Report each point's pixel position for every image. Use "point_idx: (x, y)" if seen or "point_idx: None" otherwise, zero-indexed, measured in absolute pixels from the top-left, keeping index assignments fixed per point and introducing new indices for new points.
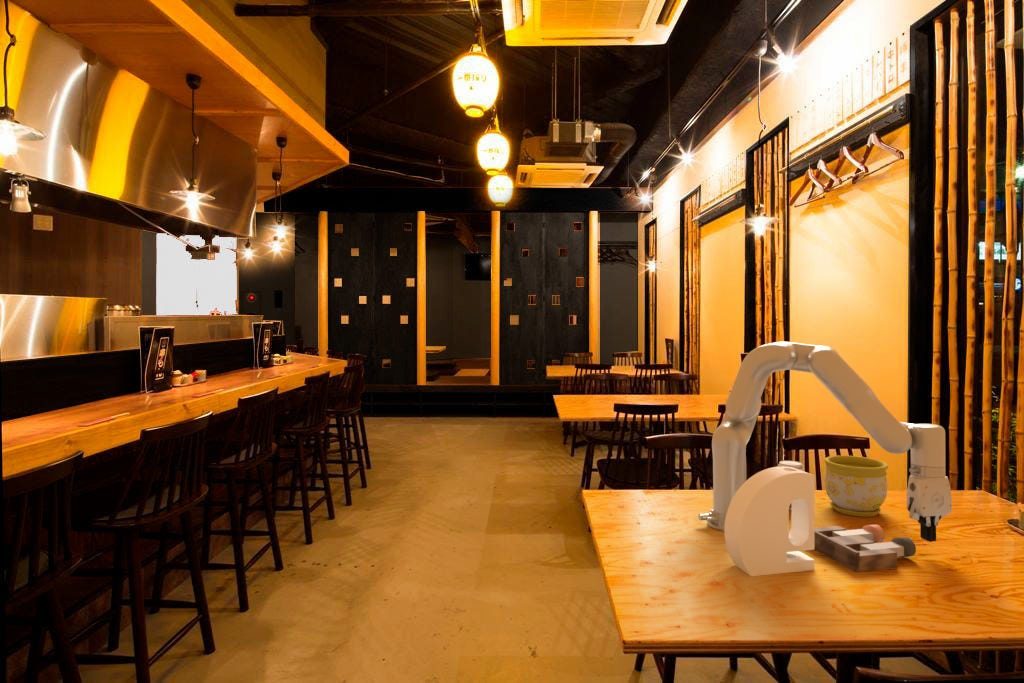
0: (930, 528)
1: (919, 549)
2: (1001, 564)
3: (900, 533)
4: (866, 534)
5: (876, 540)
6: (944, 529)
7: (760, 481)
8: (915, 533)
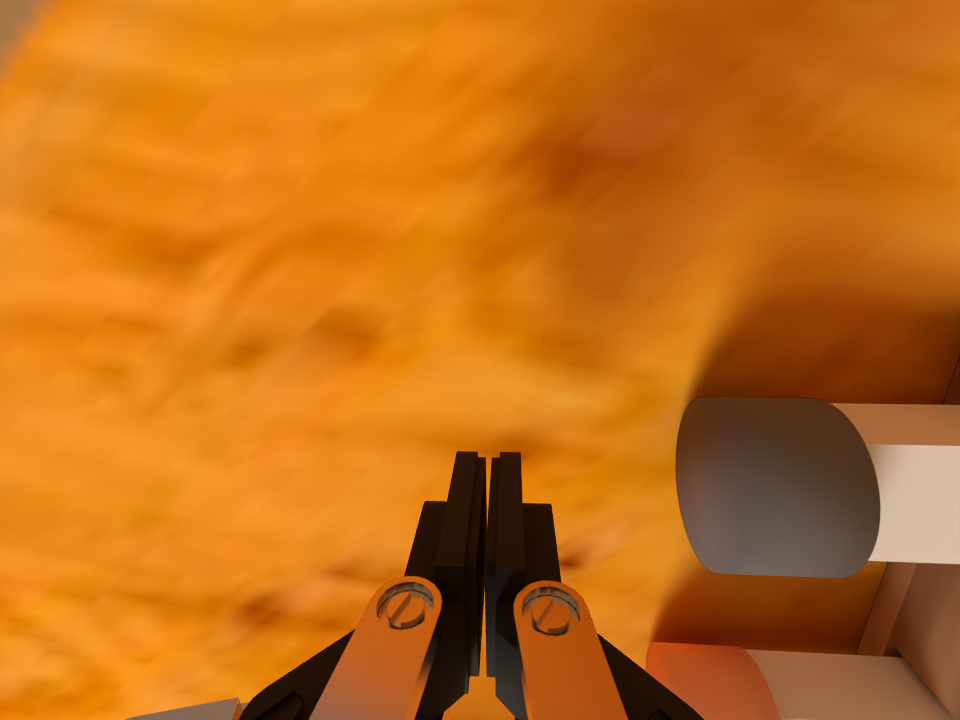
0: (523, 557)
1: None
2: (63, 168)
3: None
4: (843, 716)
5: (730, 652)
6: (51, 693)
7: None
8: None
